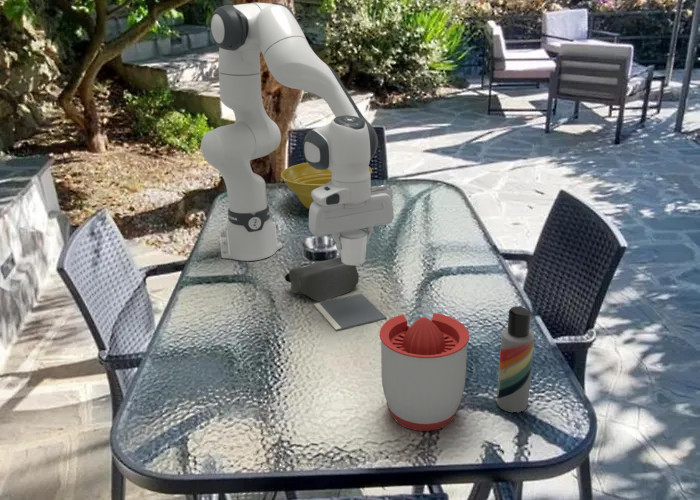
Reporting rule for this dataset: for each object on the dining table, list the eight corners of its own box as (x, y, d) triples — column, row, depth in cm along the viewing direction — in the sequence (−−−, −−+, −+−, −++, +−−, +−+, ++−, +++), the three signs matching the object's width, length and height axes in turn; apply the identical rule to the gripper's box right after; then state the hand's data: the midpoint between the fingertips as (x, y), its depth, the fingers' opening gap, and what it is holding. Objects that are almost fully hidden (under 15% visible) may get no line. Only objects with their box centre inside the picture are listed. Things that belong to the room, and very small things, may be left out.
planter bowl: (270, 201, 236) (268, 166, 231) (349, 189, 248) (348, 155, 243) (302, 229, 209) (299, 189, 204) (388, 213, 221) (388, 175, 216)
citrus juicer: (454, 381, 127) (458, 291, 119) (473, 438, 111) (479, 338, 103) (376, 384, 127) (375, 294, 119) (383, 442, 110) (383, 342, 103)
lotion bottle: (492, 396, 122) (499, 303, 114) (521, 393, 122) (530, 301, 115) (501, 414, 117) (509, 318, 109) (532, 412, 117) (541, 316, 109)
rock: (343, 273, 176) (342, 247, 173) (366, 288, 167) (365, 260, 164) (284, 291, 167) (282, 263, 164) (305, 307, 158) (303, 278, 155)
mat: (314, 305, 158) (313, 304, 158) (361, 295, 163) (361, 293, 163) (335, 331, 146) (335, 329, 146) (386, 318, 151) (386, 317, 151)
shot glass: (365, 267, 146) (365, 239, 144) (336, 265, 148) (335, 238, 145) (369, 254, 153) (369, 227, 150) (341, 253, 154) (340, 226, 151)
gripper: (386, 179, 150) (386, 234, 155) (304, 192, 142) (307, 249, 148) (398, 186, 145) (398, 243, 150) (314, 200, 137) (317, 259, 142)
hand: (352, 246), depth 149 cm, fingers closed on shot glass, 5 cm apart
